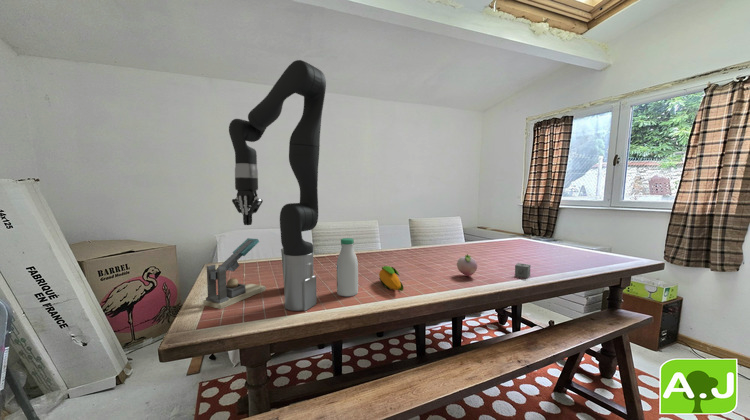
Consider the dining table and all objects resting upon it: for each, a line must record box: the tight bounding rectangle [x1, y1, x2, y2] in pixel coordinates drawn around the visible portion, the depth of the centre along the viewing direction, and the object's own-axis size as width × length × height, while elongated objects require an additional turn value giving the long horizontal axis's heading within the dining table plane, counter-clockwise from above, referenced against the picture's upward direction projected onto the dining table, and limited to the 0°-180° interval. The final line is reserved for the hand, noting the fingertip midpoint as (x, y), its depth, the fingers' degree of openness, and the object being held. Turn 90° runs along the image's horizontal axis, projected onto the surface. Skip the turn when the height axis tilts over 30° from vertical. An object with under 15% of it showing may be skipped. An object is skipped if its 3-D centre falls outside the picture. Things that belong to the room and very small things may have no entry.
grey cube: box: [514, 262, 531, 279], centre depth 124 cm, size 5×5×5 cm
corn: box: [378, 265, 404, 292], centre depth 109 cm, size 7×8×20 cm
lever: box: [210, 237, 260, 281], centre depth 98 cm, size 5×17×11 cm, turn 157°
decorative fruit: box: [456, 253, 478, 278], centre depth 123 cm, size 9×8×10 cm
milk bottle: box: [336, 237, 359, 297], centre depth 102 cm, size 8×8×20 cm
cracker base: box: [202, 264, 267, 310], centre depth 98 cm, size 8×19×13 cm, turn 157°
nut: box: [226, 277, 239, 289], centre depth 97 cm, size 4×4×4 cm
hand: (247, 224), depth 102 cm, fingers closed
